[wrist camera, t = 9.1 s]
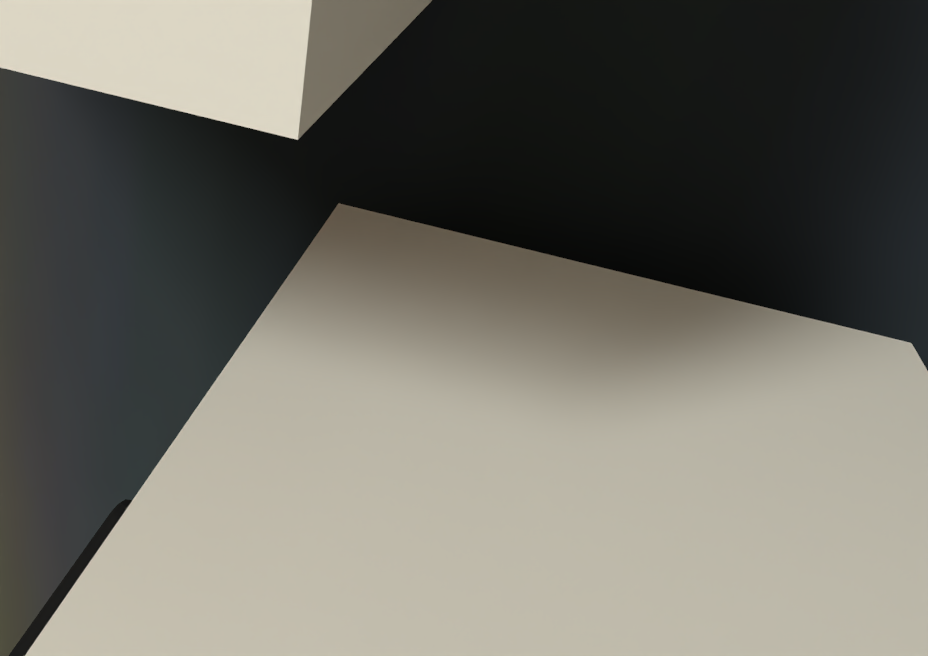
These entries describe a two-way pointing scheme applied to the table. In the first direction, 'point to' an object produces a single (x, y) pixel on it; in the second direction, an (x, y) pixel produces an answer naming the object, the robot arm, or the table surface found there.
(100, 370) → the table surface
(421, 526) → the plain off-white cube
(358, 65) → the large plain cream block
